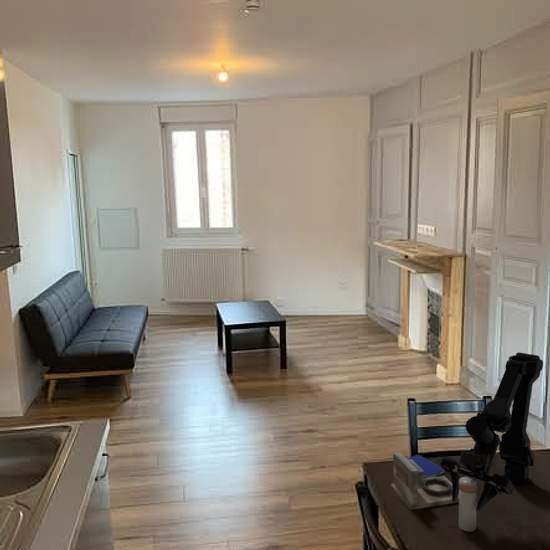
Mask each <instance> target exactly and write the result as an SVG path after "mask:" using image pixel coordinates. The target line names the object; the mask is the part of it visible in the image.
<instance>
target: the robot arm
mask: <svg viewBox="0 0 550 550" xmlns="http://www.w3.org/2000/svg"><path fill="white" fill-rule="evenodd" d="M543 367H544V361H543V359H541V357H540V355H537V354H530V353H525V352H516V353H515V355H510V356H508V360H507V361H506V362H505V370H504V373H503V375H502V378H501V380H500V383H499V386H498V388H497V390H496V392H495V395H494V398H493V399H492V400H491V401H489V402H487V403H486V404H485V406H484V408H483V410H482V411H481V412H477V414H476V415H475V416H474V415H473V416H472V417H470V418H468V419H467V420H466V422H465V425H464V427H465V431H466V432H467V433H468V435H469V436H470V437H471V439H472V440H473V442H475V443H474V445H473V447H471V448H470V450H469V452H468V451H464V450H461V452H460V458H459V461H457V460H454V459H451V458H449V457H448V458H447V457H443V458H442V459H441V460H440V462H439V464H438V465H439V466H440V467H441V468H442V469H443V470H444V472H445V474H447V475H449V476H450V477H451V483H452V501H453V502H455V501H456V499H457V497H458V494H459V479H460V478H462V475H463V476H464V477H471V478H473V479H475V480H476V481H477V480H478V481H480V482H483V489H482V491H481V494H480V497H479V499H478V502H477V503H476V512H479V511H480V510H481V509H482V508H483V507H485V505H487V504H488V503H489V502H490V500H492V499H494V498H495V497H496V496H501V495H502V494H506V495H508V496H512V495H513V493H514V487H519V486H523V485H526V484H531V483H533V479H531V478H529V470H530V467H534V465H535V461H536V459H535V458H536V455H535V454H534V453H535V452H534V451H533V450H532V449H531V439H530V437H529V435H528V432H527V428H528V420H529V412H530V407H531V406H530V405H531V398H532V391H533V385H534V383H535V382H536V381H537V380H538V379H539V378H540V375H541V372H542V371H543ZM511 406H512V407H511ZM510 409H511V410H510ZM496 432H497V433H502V435H501V439H500V435H499V434H497V433H496ZM497 451H498V452H499V458H500V460H502V461H503V460H504V462H505V465H504V471H503V472H504V474H502V475H501V474H499V473H498V474H497V473H494V474H492V475H490V471H491V468H492V466H494V465H495V460H494V459H495V456H496V454H497ZM461 464H462V465H463V466H460V465H461Z"/></svg>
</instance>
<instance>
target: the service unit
mask: <svg viewBox="0 0 550 550" xmlns="http://www.w3.org/2000/svg"><path fill="white" fill-rule="evenodd" d="M392 455H393V456H392V457H393V462H392V463H393V483H391V487H392V488H393V489H392V488H391V489H392V490H393V491H394V492H395V493H396V495H397V496H398V497H399V499H401V501H402V502H403V503H404V504H405V506H407V507H408V509H409V510H411V511H412V510H419V509H425V508H431V507H435V506H436V507H437V506H445V505H449V504H456V503H459V494H458V497H457V499H456V501H455V502H453V501H452V481H450V480H449V479H448V478H447V477H446V476H445V475H438V476H435V477H432V478H426V477H425V476H424V471H423V470H422V469H421V468H420V467H419V466H418V465H417V464H416V463H415V462H414V461H413V460H412V459H410V460H407V458H406V457H405V456H404V455H403V454H402V453H401V452H393V454H392Z"/></svg>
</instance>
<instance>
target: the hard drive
mask: <svg viewBox="0 0 550 550" xmlns="http://www.w3.org/2000/svg"><path fill="white" fill-rule="evenodd" d="M406 459H407V460H410V459H412V460H413V461H414V462H415V463H416V464H417V465H418V466H419V467H420V468H421V469H422V470H423V471H424V478H426V477H427V478H433V477H438V476H441V475H442V474H444V473H445V472H444V470H443V469H442V468H441V467H440V466H439V465H440V464H437V463H435V462H433V461H431V460H430V459H427V458H426V457H424V456H422V455H420V454H416V455H413V456H410V457H408V458H406ZM445 474H446V473H445Z"/></svg>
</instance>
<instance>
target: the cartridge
mask: <svg viewBox="0 0 550 550" xmlns="http://www.w3.org/2000/svg"><path fill="white" fill-rule="evenodd" d="M477 491H478V481H477V479H474V478H471V477H468V476H463V477H462V476H461V478H460V479H459V502H458V527H459V529H460V530H462V531H464V532H474V531H476V529H477V510H476V508H477V503H478V502H477V494H478V492H477Z"/></svg>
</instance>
